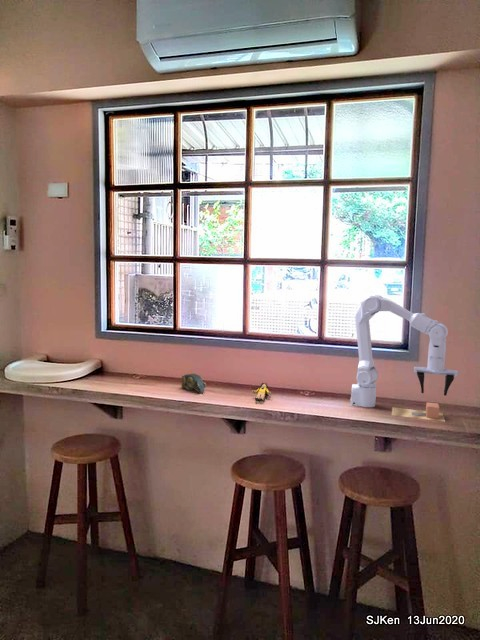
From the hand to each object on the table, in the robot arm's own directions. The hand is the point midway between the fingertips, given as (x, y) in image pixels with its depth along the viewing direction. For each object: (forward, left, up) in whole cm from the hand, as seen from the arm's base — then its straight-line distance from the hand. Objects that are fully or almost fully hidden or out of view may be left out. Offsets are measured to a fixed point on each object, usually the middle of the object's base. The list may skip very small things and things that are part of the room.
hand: (433, 393), depth 171 cm
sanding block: (0, 0, -8) cm, 8 cm away
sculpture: (-96, 0, -10) cm, 96 cm away
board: (-5, 0, -10) cm, 11 cm away
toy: (-65, 0, -10) cm, 66 cm away
